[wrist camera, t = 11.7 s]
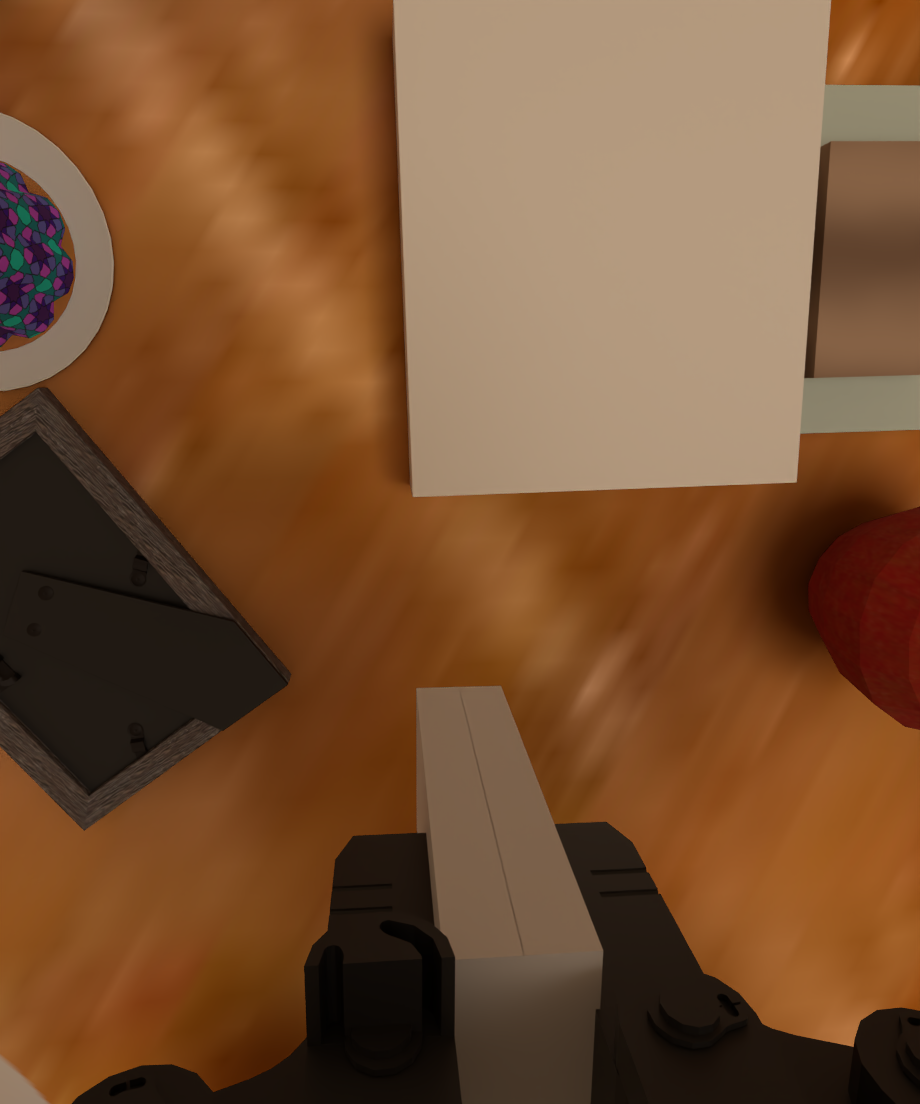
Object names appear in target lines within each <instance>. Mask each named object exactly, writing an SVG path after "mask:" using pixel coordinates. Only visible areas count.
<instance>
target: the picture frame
mask: <svg viewBox="0 0 920 1104" xmlns="http://www.w3.org/2000/svg"><path fill="white" fill-rule="evenodd" d="M290 677H291V673H290V672H289V671H288V670H287V668H286V667H285V666H284V665H283V664H282V663H281V661H280V660H279V659H278V658H277V657H276V656H275V654H274V653H273V652H272V651H271V650H270V649H269V647H268V646H267V645H266V644H265V643H264V641H263V640H262V639H261V638H260V637H259V636H258V634H257V633H256V632H255V631H254V630H253V629H252V627H251V626H250V625H249V624H248V623H247V621H246V620H245V619H244V618H243V617H242V616H241V614H240V613H239V612H238V611H237V610H236V609H235V607H234V606H233V605H232V604H231V603H230V602H229V600H228V599H227V598H226V597H225V596H224V594H223V593H222V592H221V591H220V590H219V589H218V587H217V586H216V585H215V584H214V583H213V582H212V580H211V579H210V578H209V577H208V576H207V575H206V573H205V572H204V571H203V570H202V569H201V567H200V566H199V565H198V564H197V563H196V562H195V560H194V559H193V558H192V557H191V556H190V555H189V553H188V552H187V551H186V550H185V549H184V547H183V546H182V545H181V544H180V543H179V542H178V540H177V539H176V538H175V537H174V536H173V535H172V533H171V532H170V531H169V530H168V529H167V528H166V526H165V525H164V524H163V523H162V522H161V520H160V519H159V518H158V517H157V516H156V515H155V513H154V512H153V511H152V510H151V509H150V508H149V506H148V505H147V504H146V503H145V502H144V501H143V499H142V498H141V497H140V496H139V495H138V493H137V492H136V491H135V490H134V489H133V488H132V486H131V485H130V484H129V483H128V482H127V481H126V479H125V478H124V477H123V476H122V475H121V473H120V472H119V471H118V470H117V469H116V468H115V466H114V465H113V464H112V463H111V462H110V461H109V459H108V458H107V457H106V456H105V455H104V454H103V452H102V451H101V450H100V449H99V448H98V446H97V445H96V444H95V443H94V442H93V441H92V439H91V438H90V437H89V436H88V435H87V434H86V432H85V431H84V430H83V429H82V428H81V426H80V425H79V424H78V423H77V422H76V421H75V419H74V418H73V417H72V416H71V415H70V414H69V412H68V411H67V410H66V409H65V408H64V407H63V405H62V404H61V403H60V402H59V401H58V399H57V398H56V397H55V396H54V395H53V394H52V392H51V391H50V390H49V389H48V388H37V389H36V390H35V391H33V392H32V393H31V394H29V395H28V396H27V397H25V398H24V399H23V400H22V401H20V402H19V403H18V404H16V405H15V406H14V407H12V408H11V409H10V410H9V411H7V412H6V413H5V414H3V415H2V416H1V417H0V747H1V748H2V749H3V750H4V751H5V752H6V753H7V754H8V755H9V756H10V757H11V758H12V759H13V760H14V761H15V762H16V763H17V764H18V765H19V766H20V767H21V768H22V769H23V770H24V771H25V772H26V773H27V774H28V775H29V776H30V777H31V778H32V779H33V780H34V781H35V782H36V783H37V784H38V785H39V786H40V787H41V788H42V789H43V790H44V791H45V792H46V793H47V794H48V795H49V796H50V797H51V798H52V799H53V800H54V801H55V802H56V803H57V804H58V805H59V806H60V807H61V808H62V809H63V810H64V811H65V812H66V813H67V814H68V815H69V816H70V817H71V818H72V819H73V820H74V821H75V822H76V823H77V824H78V825H79V826H80V827H81V828H82V829H83V830H86V829H87V828H88V827H90V826H91V825H93V824H94V823H95V822H97V821H98V820H99V819H101V818H102V817H104V816H105V815H106V814H108V813H109V812H110V811H112V810H113V809H115V808H116V807H117V806H119V805H120V804H121V803H123V802H124V801H126V800H127V799H128V798H130V797H131V796H132V795H134V794H135V793H137V792H138V791H139V790H141V789H142V788H143V787H145V786H146V785H148V784H149V783H150V782H152V781H153V780H154V779H156V778H157V777H159V776H160V775H161V774H163V773H164V772H165V771H167V770H168V769H169V768H171V767H172V766H174V765H175V764H176V763H178V762H179V761H180V760H182V759H183V758H185V757H186V756H187V755H189V754H190V753H191V752H193V751H194V750H196V749H197V748H198V747H200V746H201V745H202V744H204V743H205V742H207V741H208V740H209V739H211V738H212V737H213V736H215V735H216V734H218V733H219V732H220V731H223V730H225V729H226V728H228V727H229V726H230V725H232V724H233V723H235V722H236V721H237V720H239V719H240V718H242V717H243V716H245V715H246V714H247V713H249V712H250V711H252V710H253V709H254V708H256V707H257V706H259V705H260V704H261V703H263V702H264V701H266V700H267V699H268V698H270V697H271V696H273V695H274V694H275V693H277V692H278V691H280V690H281V689H282V688H284V687H285V686H287V685H288V682H289V680H290Z"/></svg>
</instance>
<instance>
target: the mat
mask: <svg viewBox="0 0 920 1104" xmlns="http://www.w3.org/2000/svg"><path fill="white" fill-rule="evenodd" d="M830 141H920V86H896V85H825V91H824V105H823V119H822V133H821V146H823V145H825V144H827V143H829V142H830ZM891 430H920V375H900V376H865V377H831V378H804V386H803V400H802V414H801V428H800V433H830V432H861V431H891Z"/></svg>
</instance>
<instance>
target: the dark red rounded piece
mask: <svg viewBox="0 0 920 1104" xmlns="http://www.w3.org/2000/svg"><path fill="white" fill-rule="evenodd" d="M808 601H809V612H810V614H811V617H812V619H813V621H814V623H815V625H816V628H817V630H818V632H819V634H820V636H821V638H822V640H823V642H824V643H825V645H826V647H827V649H828V651H829V653H830V655H831V657H832V659H833V661H834V663H835V664H836V666H837V668H838V670H839V672H840V673H841V674H842V675H843V676H844V677H845V678H846V679H847V680H848V681H849V682H851V683H852V684H853V685H854V686H855V687H856V688H857V689H858V690H859V691H860V692H862V693H863V694H864V695H865V696H866V697H867V698H868V699H869V700H870V701H871V702H873V703H874V704H875V705H876V706H878V707H879V708H880V709H882V710H883V711H884V712H886V713H887V714H888V715H890V716H891V717H892V718H894V719H895V720H897V721H898V722H899V723H901V724H902V725H903V726H905V727H909V728H914V729H919V730H920V507H917V508H914V509H910V510H907V511H903V512H900V513H896V514H893V515H889V516H886V517H882V518H879V519H875V520H872V521H869V522H865V523H862V524H860V525H858V526H857V527H855V528H853V529H851V530H849V531H848V532H846V533H844V534H842V535H841V536H839V537H838V538H837V539H836V540H835V541H834V542H833V543H832V544H831V545H830V547H829V548H828V549H827V550H826V551H825V552H824V553H823V554H822V556H821V557H820V558H819V560H818V562H817V565H816V567H815V569H814V572H813V574H812V576H811V578H810V581H809V583H808Z"/></svg>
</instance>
